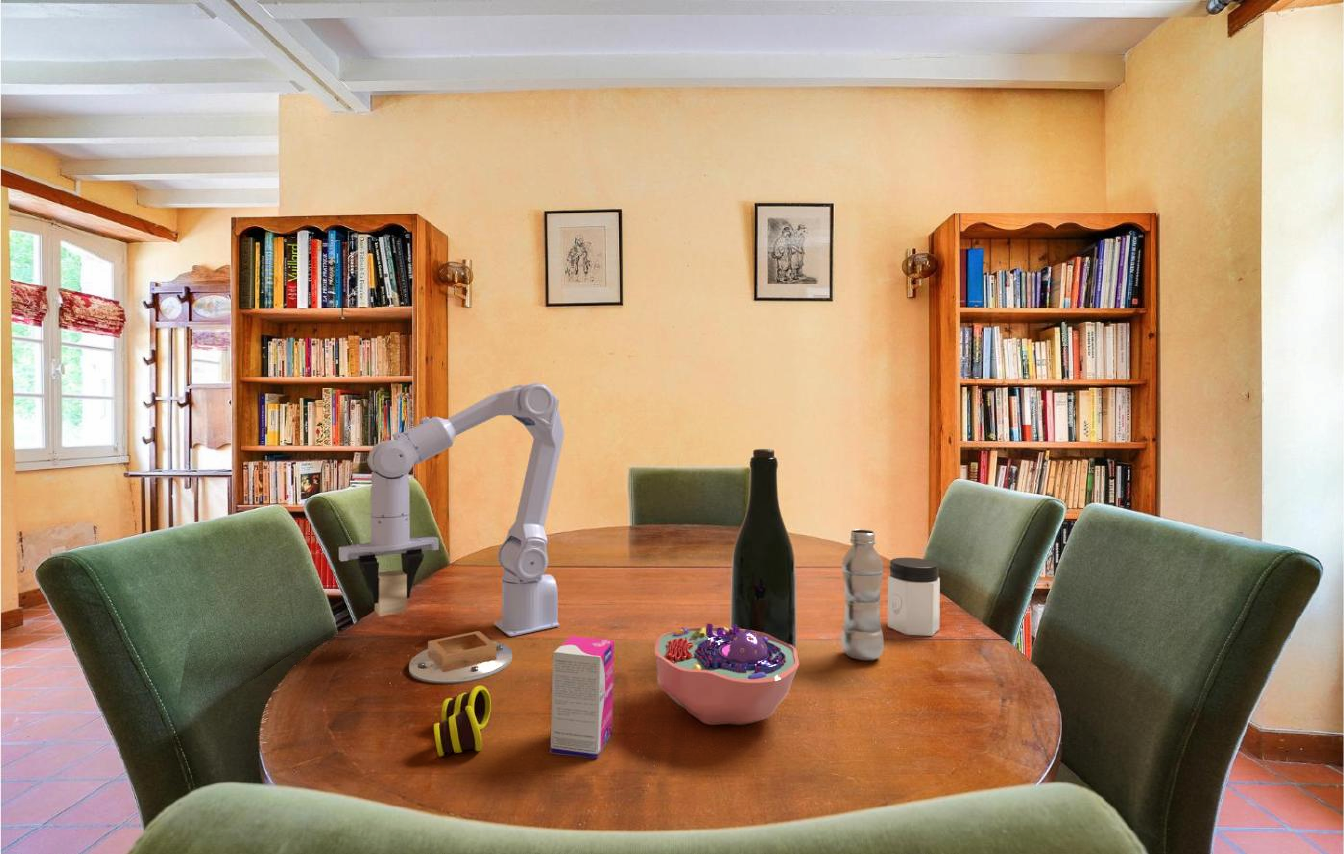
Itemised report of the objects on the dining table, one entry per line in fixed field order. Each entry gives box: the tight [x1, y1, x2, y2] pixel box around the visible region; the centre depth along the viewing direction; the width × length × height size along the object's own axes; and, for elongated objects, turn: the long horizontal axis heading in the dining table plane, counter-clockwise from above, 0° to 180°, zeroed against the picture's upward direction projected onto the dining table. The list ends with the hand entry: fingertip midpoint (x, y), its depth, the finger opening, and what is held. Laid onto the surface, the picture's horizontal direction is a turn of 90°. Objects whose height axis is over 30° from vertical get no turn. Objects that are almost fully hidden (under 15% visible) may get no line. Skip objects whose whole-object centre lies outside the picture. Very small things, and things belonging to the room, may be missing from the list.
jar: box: [887, 557, 941, 637], centre depth 110 cm, size 9×8×12 cm
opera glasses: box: [433, 685, 492, 757], centre depth 72 cm, size 10×5×5 cm, turn 10°
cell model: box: [654, 623, 800, 726], centre depth 78 cm, size 17×20×11 cm
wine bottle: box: [729, 448, 797, 650], centre depth 97 cm, size 10×10×33 cm
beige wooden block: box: [374, 569, 408, 617], centre depth 98 cm, size 4×4×6 cm
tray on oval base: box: [408, 630, 513, 685], centre depth 94 cm, size 15×15×3 cm
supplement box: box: [549, 635, 615, 759], centre depth 70 cm, size 6×6×12 cm
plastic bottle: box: [840, 529, 885, 661], centre depth 96 cm, size 6×7×20 cm
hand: (390, 599), depth 98 cm, fingers closed on beige wooden block, 4 cm apart
